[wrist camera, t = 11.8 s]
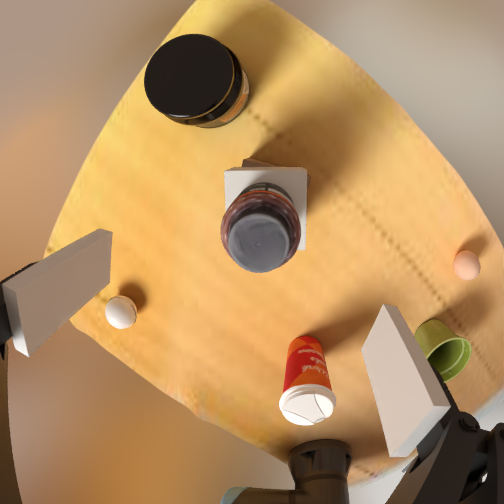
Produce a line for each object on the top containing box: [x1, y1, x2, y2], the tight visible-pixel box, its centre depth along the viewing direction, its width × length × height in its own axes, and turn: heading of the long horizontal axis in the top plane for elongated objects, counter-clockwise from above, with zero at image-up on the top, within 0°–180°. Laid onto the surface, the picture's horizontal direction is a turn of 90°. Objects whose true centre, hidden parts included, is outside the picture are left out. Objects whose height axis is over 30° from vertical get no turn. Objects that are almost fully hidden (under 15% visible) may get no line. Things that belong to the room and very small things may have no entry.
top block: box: [224, 167, 307, 250], centre depth 33 cm, size 8×8×6 cm
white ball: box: [105, 289, 137, 329], centre depth 47 cm, size 8×6×6 cm
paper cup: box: [279, 336, 336, 425], centre depth 43 cm, size 8×8×14 cm
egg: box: [453, 250, 480, 280], centre depth 39 cm, size 4×4×6 cm
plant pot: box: [414, 319, 472, 383], centre depth 42 cm, size 9×9×9 cm
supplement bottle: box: [221, 182, 301, 273], centre depth 25 cm, size 6×6×11 cm
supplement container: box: [144, 34, 250, 128], centre depth 32 cm, size 10×10×12 cm
